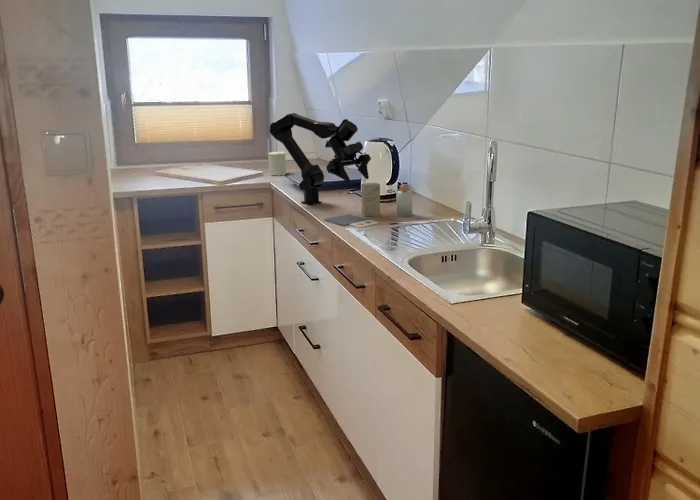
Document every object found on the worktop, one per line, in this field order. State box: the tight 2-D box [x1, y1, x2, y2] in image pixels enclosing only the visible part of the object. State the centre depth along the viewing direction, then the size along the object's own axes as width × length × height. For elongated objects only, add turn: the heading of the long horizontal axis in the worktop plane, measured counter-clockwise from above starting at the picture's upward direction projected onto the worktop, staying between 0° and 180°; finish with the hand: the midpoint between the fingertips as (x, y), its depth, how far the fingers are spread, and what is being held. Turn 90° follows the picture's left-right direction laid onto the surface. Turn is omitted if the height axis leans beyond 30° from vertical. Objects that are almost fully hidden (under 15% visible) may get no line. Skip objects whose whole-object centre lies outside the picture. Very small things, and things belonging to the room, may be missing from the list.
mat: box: [323, 213, 370, 227], centre depth 232 cm, size 12×12×1 cm
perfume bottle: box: [395, 183, 413, 218], centre depth 236 cm, size 6×6×12 cm
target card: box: [348, 219, 380, 229], centre depth 226 cm, size 6×9×1 cm, turn 128°
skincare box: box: [361, 182, 381, 218], centre depth 238 cm, size 6×4×12 cm
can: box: [267, 151, 287, 176], centre depth 331 cm, size 9×9×12 cm
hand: (358, 180), depth 241 cm, fingers open, 9 cm apart
